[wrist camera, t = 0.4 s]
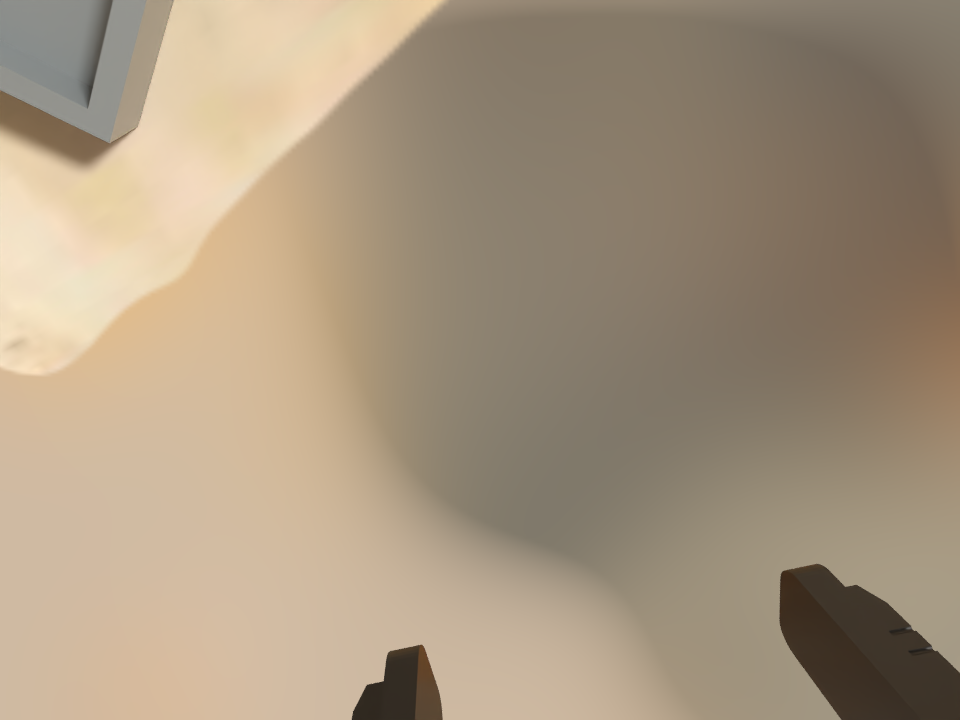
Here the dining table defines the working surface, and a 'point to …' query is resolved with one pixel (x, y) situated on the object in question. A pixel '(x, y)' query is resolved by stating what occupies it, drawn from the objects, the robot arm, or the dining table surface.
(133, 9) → the grey tray
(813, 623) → the robot arm
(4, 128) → the dining table surface
